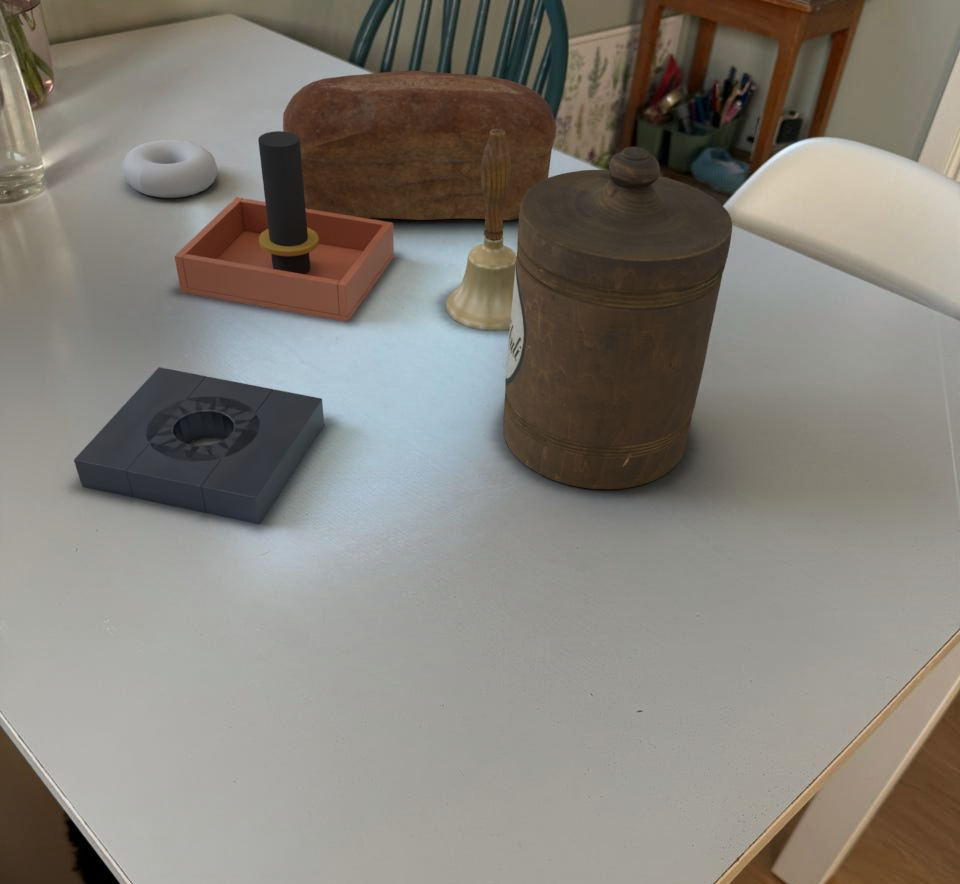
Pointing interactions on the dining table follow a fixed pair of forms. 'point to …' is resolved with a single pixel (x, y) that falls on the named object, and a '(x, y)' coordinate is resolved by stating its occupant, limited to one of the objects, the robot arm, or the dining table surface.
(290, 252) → the plug
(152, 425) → the drain plate
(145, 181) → the donut
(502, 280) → the hand bell
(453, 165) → the bread
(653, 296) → the wooden container
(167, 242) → the dining table surface
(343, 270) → the terracotta tray
